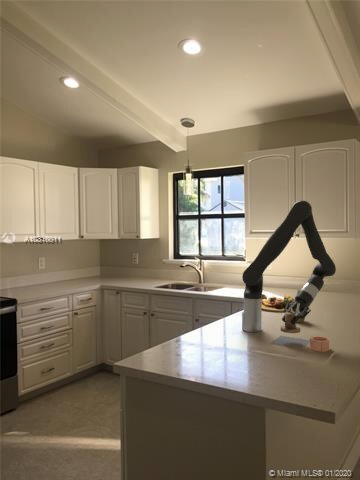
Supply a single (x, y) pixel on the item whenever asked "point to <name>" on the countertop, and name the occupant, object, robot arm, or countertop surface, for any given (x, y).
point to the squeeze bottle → (302, 315)
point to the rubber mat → (290, 342)
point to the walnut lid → (289, 324)
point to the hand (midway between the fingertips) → (287, 322)
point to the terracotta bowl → (320, 343)
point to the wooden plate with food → (275, 303)
